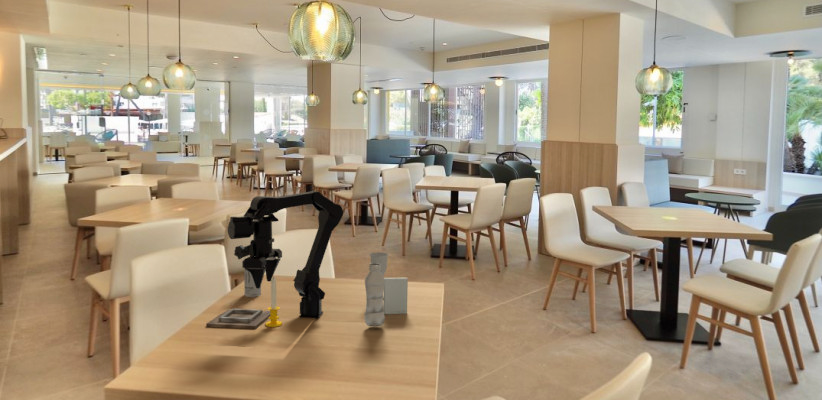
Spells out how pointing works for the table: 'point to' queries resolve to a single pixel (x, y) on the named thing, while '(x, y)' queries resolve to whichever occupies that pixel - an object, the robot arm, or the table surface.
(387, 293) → the external hard drive
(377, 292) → the plastic bottle
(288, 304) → the table surface
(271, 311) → the candle
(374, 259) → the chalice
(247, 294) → the energy drink can
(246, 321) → the socket board
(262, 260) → the robot arm
